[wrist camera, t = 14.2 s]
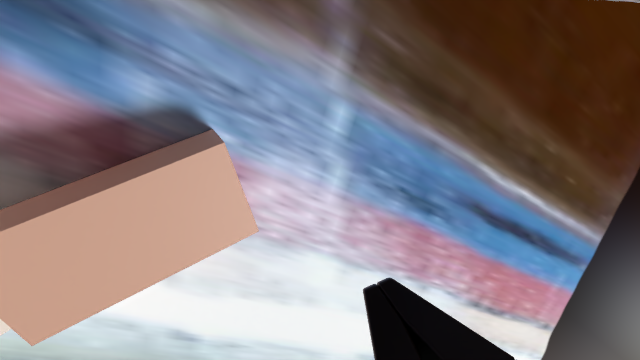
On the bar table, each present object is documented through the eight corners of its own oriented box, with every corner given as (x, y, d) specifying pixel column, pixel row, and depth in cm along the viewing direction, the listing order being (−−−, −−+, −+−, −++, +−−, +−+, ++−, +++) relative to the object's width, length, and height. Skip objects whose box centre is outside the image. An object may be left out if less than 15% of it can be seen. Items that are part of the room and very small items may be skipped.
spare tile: (224, 142, 14) (-70, 259, 11) (258, 231, 17) (31, 345, 14) (212, 128, 16) (-48, 228, 12) (245, 212, 18) (39, 311, 15)
